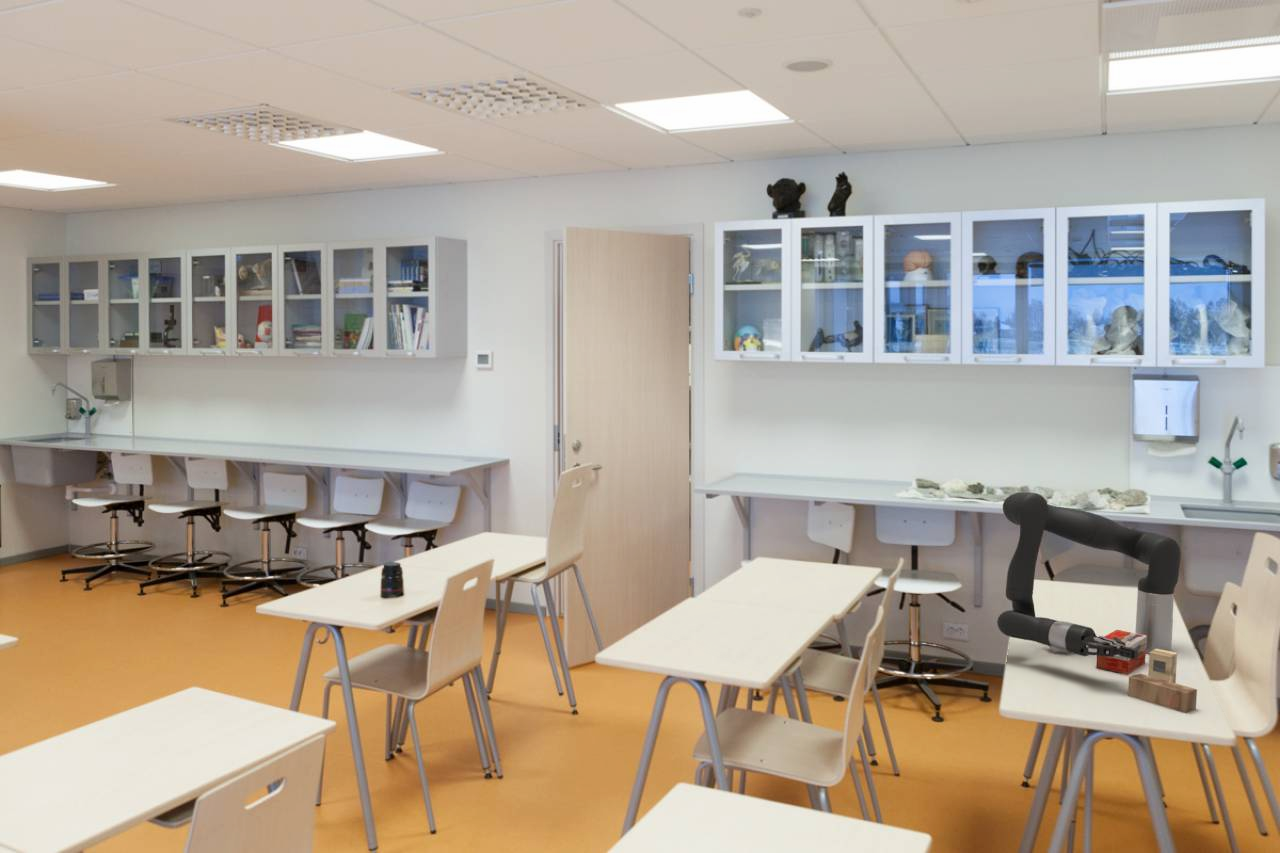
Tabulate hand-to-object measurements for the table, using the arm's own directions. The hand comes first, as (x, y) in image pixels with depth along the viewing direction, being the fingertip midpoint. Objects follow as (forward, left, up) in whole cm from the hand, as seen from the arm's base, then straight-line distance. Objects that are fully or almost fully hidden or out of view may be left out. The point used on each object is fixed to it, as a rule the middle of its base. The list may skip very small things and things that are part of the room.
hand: (1136, 654), depth 253 cm
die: (-18, -31, -10) cm, 37 cm away
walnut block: (0, 0, -8) cm, 8 cm away
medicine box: (-20, -14, -10) cm, 27 cm away
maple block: (-11, +1, -10) cm, 15 cm away
